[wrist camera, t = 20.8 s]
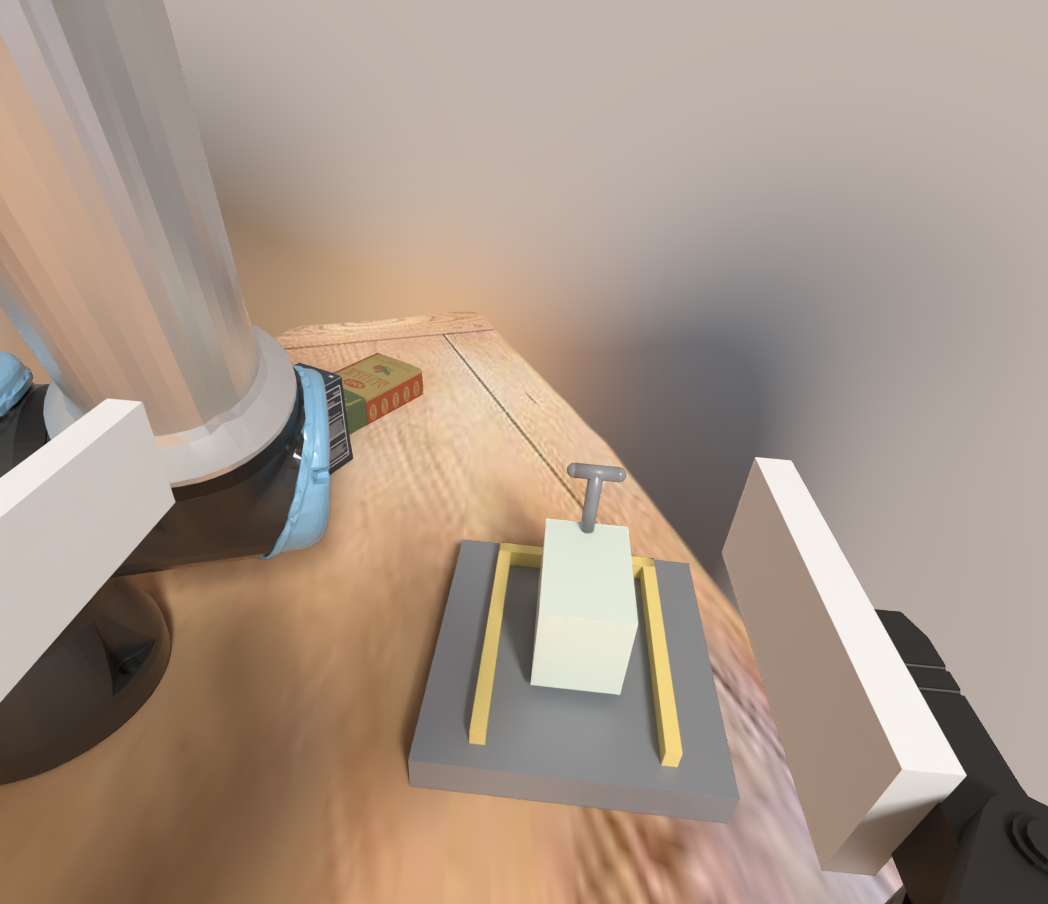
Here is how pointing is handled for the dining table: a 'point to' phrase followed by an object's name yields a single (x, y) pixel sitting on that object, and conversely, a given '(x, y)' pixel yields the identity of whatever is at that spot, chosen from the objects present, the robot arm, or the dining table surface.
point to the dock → (572, 701)
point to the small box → (336, 419)
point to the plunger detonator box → (585, 597)
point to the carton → (377, 388)
